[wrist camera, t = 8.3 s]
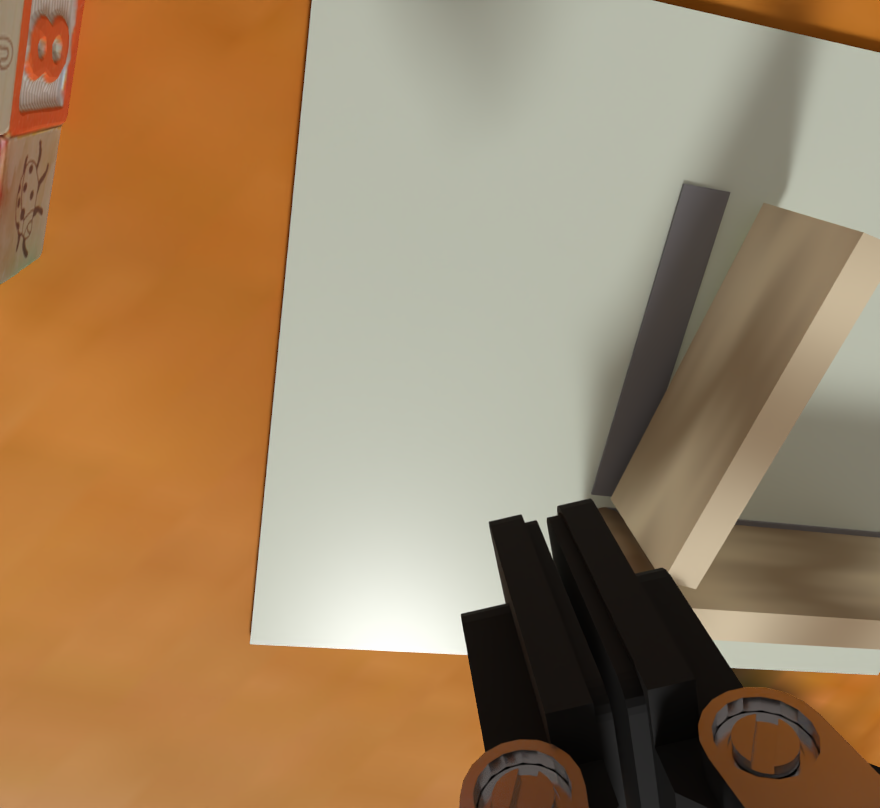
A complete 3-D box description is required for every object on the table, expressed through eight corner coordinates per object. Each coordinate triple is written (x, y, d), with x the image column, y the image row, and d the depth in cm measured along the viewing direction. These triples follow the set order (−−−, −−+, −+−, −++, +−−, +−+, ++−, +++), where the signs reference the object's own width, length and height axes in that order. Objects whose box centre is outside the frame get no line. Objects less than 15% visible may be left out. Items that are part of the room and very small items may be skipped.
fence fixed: (877, 528, 23) (1011, 642, 18) (861, 560, 23) (989, 678, 18) (585, 501, 21) (653, 620, 16) (575, 537, 21) (638, 661, 17)
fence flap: (638, 506, 20) (696, 589, 17) (610, 498, 20) (663, 581, 17) (794, 215, 17) (900, 248, 14) (763, 202, 17) (863, 232, 14)
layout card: (1164, 119, 18) (1176, 120, 18) (874, 670, 25) (879, 676, 25) (319, -75, 14) (319, -78, 14) (250, 639, 21) (249, 646, 21)
